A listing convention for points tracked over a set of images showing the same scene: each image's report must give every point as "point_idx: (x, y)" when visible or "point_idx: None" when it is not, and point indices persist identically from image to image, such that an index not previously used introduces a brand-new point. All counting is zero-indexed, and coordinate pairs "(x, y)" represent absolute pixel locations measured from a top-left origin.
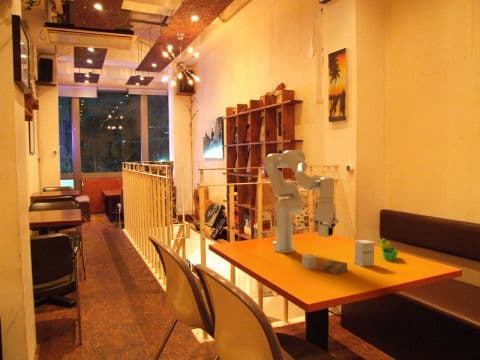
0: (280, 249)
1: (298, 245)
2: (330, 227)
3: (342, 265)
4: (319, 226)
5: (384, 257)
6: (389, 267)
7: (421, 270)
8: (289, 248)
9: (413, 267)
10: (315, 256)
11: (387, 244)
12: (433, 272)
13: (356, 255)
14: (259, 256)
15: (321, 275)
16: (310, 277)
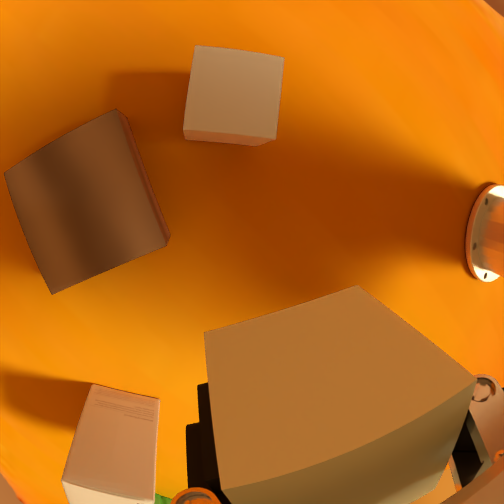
0: (497, 199)
1: (486, 333)
2: (200, 498)
3: (22, 226)
4: (430, 371)
5: (165, 500)
6: (63, 446)
7: (25, 472)
8: (485, 236)
9: (54, 482)
10: (193, 120)
11: None
12: (9, 473)
13: (137, 426)
14: (476, 68)
15: (66, 74)
16: (82, 9)
